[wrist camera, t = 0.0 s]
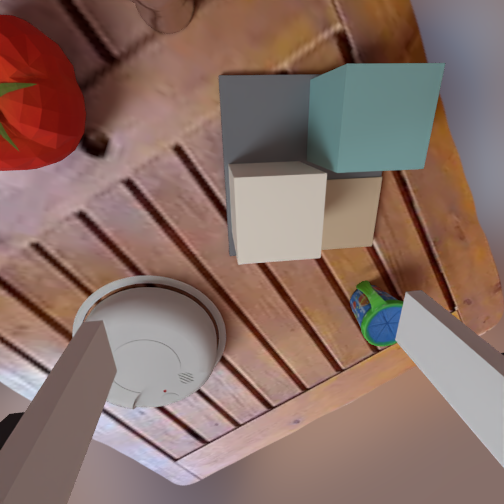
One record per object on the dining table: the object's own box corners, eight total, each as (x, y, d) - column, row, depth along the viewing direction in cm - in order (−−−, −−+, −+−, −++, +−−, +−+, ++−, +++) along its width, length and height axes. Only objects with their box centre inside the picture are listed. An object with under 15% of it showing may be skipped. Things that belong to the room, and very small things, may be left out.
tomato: (54, 187, 36) (-3, 210, 26) (-62, 97, 31) (-183, 85, 21) (126, 103, 33) (92, 95, 24) (12, -10, 28) (-88, -77, 19)
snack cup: (393, 313, 51) (421, 342, 44) (352, 331, 51) (374, 362, 45) (378, 260, 46) (407, 284, 39) (333, 281, 47) (354, 308, 40)
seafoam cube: (310, 79, 34) (346, 63, 25) (384, 78, 35) (445, 63, 26) (306, 160, 37) (337, 172, 28) (373, 157, 38) (423, 168, 29)
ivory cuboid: (228, 164, 36) (233, 177, 27) (298, 161, 37) (327, 173, 28) (232, 232, 40) (238, 264, 31) (296, 228, 41) (320, 257, 32)
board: (218, 76, 33) (218, 75, 32) (392, 74, 36) (398, 73, 34) (229, 253, 42) (229, 256, 41) (367, 242, 45) (371, 245, 43)
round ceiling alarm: (196, 245, 42) (194, 264, 36) (250, 367, 52) (254, 396, 47) (32, 303, 42) (4, 330, 36) (118, 412, 52) (107, 446, 47)
